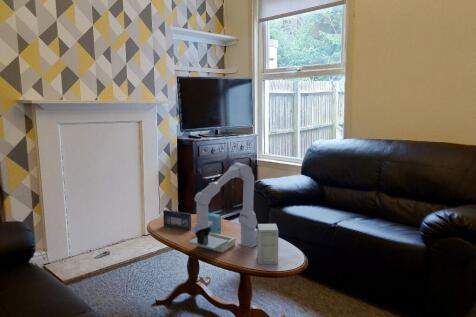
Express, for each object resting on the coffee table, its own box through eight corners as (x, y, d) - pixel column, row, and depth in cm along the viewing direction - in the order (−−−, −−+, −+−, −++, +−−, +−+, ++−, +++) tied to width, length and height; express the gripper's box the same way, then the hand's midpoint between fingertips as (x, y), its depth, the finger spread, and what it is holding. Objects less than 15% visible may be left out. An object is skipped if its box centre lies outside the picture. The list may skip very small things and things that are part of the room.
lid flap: (228, 241, 192) (228, 232, 192) (213, 249, 182) (213, 240, 181) (202, 235, 201) (202, 226, 200) (187, 242, 191) (187, 233, 190)
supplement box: (275, 256, 186) (276, 223, 183) (278, 264, 176) (279, 229, 174) (256, 256, 185) (257, 223, 183) (258, 264, 176) (258, 229, 174)
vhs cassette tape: (163, 226, 228) (162, 210, 227) (166, 225, 231) (165, 209, 229) (188, 231, 220) (188, 214, 219) (191, 229, 223) (191, 213, 221)
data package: (221, 235, 214) (221, 214, 213) (217, 237, 210) (217, 216, 209) (203, 231, 220) (203, 211, 218) (199, 234, 216) (198, 213, 214)
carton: (235, 245, 199) (235, 238, 198) (222, 253, 189) (222, 245, 188) (210, 239, 207) (210, 232, 207) (197, 246, 197) (197, 238, 197)
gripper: (205, 211, 194) (205, 236, 196) (186, 218, 182) (187, 245, 184) (216, 213, 190) (216, 239, 192) (198, 221, 178) (198, 248, 180)
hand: (202, 242), depth 188 cm, fingers closed on lid flap, 2 cm apart
